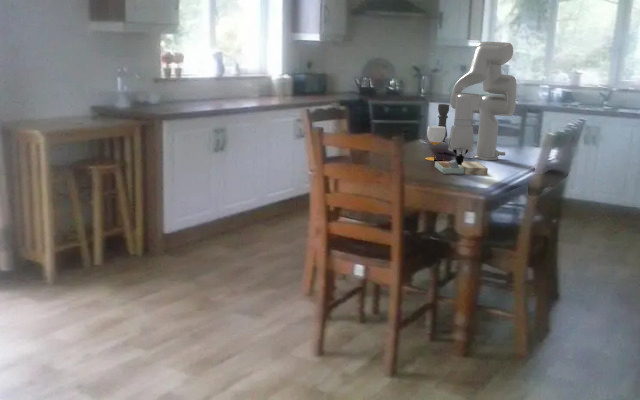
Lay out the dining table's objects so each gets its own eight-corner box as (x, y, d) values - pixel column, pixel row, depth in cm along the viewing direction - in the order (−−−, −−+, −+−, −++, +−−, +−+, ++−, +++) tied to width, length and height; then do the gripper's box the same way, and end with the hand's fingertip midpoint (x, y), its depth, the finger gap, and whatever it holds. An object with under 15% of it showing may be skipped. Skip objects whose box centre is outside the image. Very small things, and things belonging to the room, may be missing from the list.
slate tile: (453, 159, 301) (448, 161, 301) (456, 161, 297) (451, 163, 297) (457, 168, 302) (452, 170, 302) (460, 170, 298) (454, 172, 298)
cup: (439, 161, 326) (441, 128, 322) (421, 159, 331) (424, 126, 327) (446, 159, 334) (448, 127, 330) (429, 157, 338) (431, 125, 334)
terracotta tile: (438, 161, 310) (438, 166, 311) (440, 162, 306) (440, 168, 307) (448, 161, 311) (447, 166, 311) (450, 163, 306) (450, 168, 307)
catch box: (454, 167, 313) (455, 162, 312) (463, 174, 297) (464, 168, 297) (434, 166, 313) (435, 161, 312) (442, 173, 297) (442, 168, 296)
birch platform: (477, 168, 314) (477, 161, 313) (487, 175, 298) (487, 168, 297) (455, 167, 313) (456, 161, 312) (464, 174, 298) (465, 167, 297)
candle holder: (446, 151, 357) (450, 104, 351) (444, 153, 351) (449, 105, 345) (435, 150, 359) (438, 103, 353) (433, 152, 353) (436, 104, 347)
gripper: (477, 122, 300) (473, 163, 304) (444, 121, 299) (440, 162, 303) (482, 124, 292) (477, 166, 297) (447, 123, 292) (444, 165, 296)
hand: (459, 164), depth 300 cm, fingers closed
